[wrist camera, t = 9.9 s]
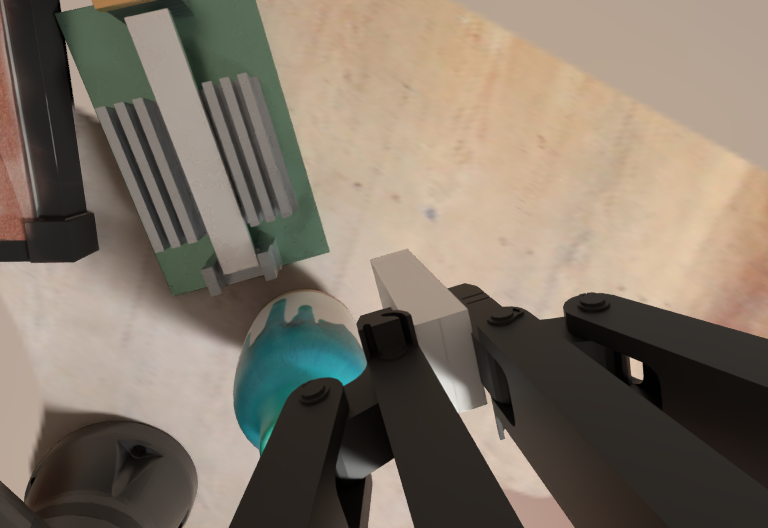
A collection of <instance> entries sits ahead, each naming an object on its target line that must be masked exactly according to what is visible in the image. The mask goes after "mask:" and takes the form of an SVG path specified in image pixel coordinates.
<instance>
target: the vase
mask: <svg viewBox="0 0 768 528" xmlns="http://www.w3.org/2000/svg"><path fill="white" fill-rule="evenodd" d="M356 324H357V323H356V320H355V319H354V317H353V315H352V314H351V313H350V311H349V310H348V309H347V307H346V306H345V305H344V304H343V303H342V302H340V301H339V300H338V299H336V298H335V297H333V296H331V295H329V294H327V293H325V292H322V291H318V290H312V289H300V290H293V291H290V292H287V293H284V294H282V295H280V296H278V297H276V298H275V299H273V300H272V301H270V302H269V303H268V304H267V305H266V306H265V307H264V308H263V309H262V310H261V312H260V313H259V314H258V315H257V317H256V319H255V320H254V322H253V324H252V326H251V327H250V329H249V331H248V334H247V336H246V338H245V341H244V344H243V347H242V350H241V353H240V356H239V360H238V364H237V368H236V374H235V380H234V390H233V396H234V410H235V415H236V419H237V421H238V424H239V426H240V428H241V430H242V431H243V433H244V434H245V436H246V437H247V439H248V440H249V441H250V442H251V443H252V444H253V445H254V446H255V447H256V448H257V449H259V451H260V457H261V455H262V452H263V450H264V448H265V446H266V444H267V441H268V439H269V437H270V435H271V432H272V430H273V428H274V426H275V424H276V421H277V419H278V417H279V415H280V412H281V410H282V408H283V406H284V404H285V401H286V399H287V398H288V396H289V395H290V394H291V392H293V391H294V390H295V389H296V388H298V387H299V386H300V385H302V384H303V383H307V381H310V380H315V379H318V378H326V377H331V378H336V379H338V380H339V381H340V382H342V384H343V386H344V385H346V384H348V383H350V382H351V381H353V380H354V379H356V378H357V377H358V376H359V375H361V374H362V372H363V371H364V370H365V368H366V365H367V361H366V358H365V354H364V351H363V347H362V344H361V340H360V337H359V334H358V329H357V325H356Z"/></svg>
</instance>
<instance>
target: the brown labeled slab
mask: <svg viewBox="0 0 768 528" xmlns="http://www.w3.org/2000/svg"><path fill="white" fill-rule="evenodd" d="M60 12H61V5H60V0H0V262H23V261H30V262H31V263H59V262H76V261H78V260H80V259H82V258H84V257H86V256H88V255H90V254H92V253H94V252H96V251H98V250H99V246H98V239H97V232H96V224H95V217H94V214H87V210H86V203H85V196H84V188H83V181H82V174H81V167H80V160H79V153H78V146H77V139H76V132H75V125H74V118H73V111H72V106H74V107H75V104H74V97H73V90H72V84H71V76H70V69H69V62H68V55H67V48H66V41H65V37H64V35H63V33H62V30H61V28H60V26H59V23H58V21H57V18H56V16H55V13H60Z"/></svg>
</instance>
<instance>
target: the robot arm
mask: <svg viewBox="0 0 768 528" xmlns="http://www.w3.org/2000/svg"><path fill="white" fill-rule="evenodd" d="M370 261H371V265H372V269H373V273H374V276H375V280H376V284H377V287H378V291H379V295H380V299H381V302H382V306H383V309H382V310H378V311H375V312H372V313H368V314H365V315H362V316H360V318H359V320H358V322H357V324H356V325H357V329H358V334H359V337H360V340H361V344H362V347H363V351H364V354H365V358H366V361H367V365H366V368H365V370H364V371H363V372H362V374H361V375H359V376H358V377H357V378H356V379H354V380H353V381H351V382H350V383H348V384H346V385H344V386H343V384H342V382H340V381H339V380H338V379H336V378H331V377H326V378H318V379H315V380H310V381H307V383H303V384H302V385H300V386H299V387H298V388H296V389H295V390H294V391H293V392H291V394H290V395H289V396H288V398H287V399H286V401H285V404H284V406H283V408H282V410H281V412H280V415H279V417H278V419H277V421H276V424H275V426H274V428H273V430H272V432H271V435H270V437H269V439H268V441H267V444H266V446H265V448H264V450H263V452H262V455H261V457H260V459H259V461H258V464H257V466H256V468H255V470H254V473H253V475H252V477H251V479H250V481H249V484H248V486H247V488H246V490H245V493H244V495H243V497H242V499H241V501H240V504H239V506H238V508H237V510H236V513H235V515H234V517H233V519H232V521H231V524H230V526H229V528H368V520H369V511H370V502H371V493H372V476H371V473H372V472H373V471H375V470H376V469H378V468H379V467H381V466H383V465H384V464H386V463H387V462H389V461H390V460H392V459H393V458H395V462H396V465H397V469H398V472H399V476H400V479H401V483H402V486H403V490H404V493H405V496H406V500H407V503H408V507H409V510H410V514H411V517H412V521H413V524H414V528H524V527H523V525H522V524H521V522H520V520H519V518H518V517H517V515H516V513H515V511H514V509H513V508H512V506H511V505H510V503H509V501H508V499H507V497H506V496H505V494H504V492H503V490H502V489H501V487H500V485H499V483H498V482H497V480H496V478H495V476H494V475H493V473H492V471H491V470H490V468H489V466H488V464H487V463H486V461H485V459H484V457H483V456H482V454H481V452H480V450H479V449H478V447H477V445H476V443H475V442H474V440H473V438H472V437H471V435H470V433H469V431H468V430H467V428H466V426H465V424H464V423H463V421H462V419H461V417H460V416H459V413H462V412H465V411H468V410H471V409H474V408H477V407H480V406H483V405H486V404H487V400H486V395H485V390H484V387H485V388H486V389H487V391H488V392H489V393H490V395H491V399H492V404H493V409H494V414H495V419H496V424H497V429H498V434H499V437H500V440H503V439H505V437H504V432H503V431H504V429H506V430H507V432H508V433H509V435H510V436H511V437H512V439H513V440H514V442H515V443H516V445H517V446H518V447H519V449H520V450H521V452H522V453H523V455H524V456H525V457H526V459H527V460H528V462H529V463H530V465H531V466H532V467H533V469H534V470H535V472H536V473H537V474H538V476H539V477H540V479H541V480H542V482H543V483H544V484H545V486H546V487H547V489H548V490H549V492H550V493H551V494H552V496H553V497H554V499H555V500H556V501H557V503H558V504H559V506H560V507H561V509H562V510H563V511H564V513H565V514H566V516H567V517H568V519H569V520H570V521H571V523H572V524H573V526H574V527H575V528H768V339H766V338H762V337H759V336H755V335H752V334H748V333H745V332H741V331H738V330H734V329H731V328H727V327H724V326H720V325H717V324H713V323H710V322H706V321H703V320H699V319H696V318H692V317H689V316H685V315H682V314H678V313H674V312H671V311H667V310H664V309H660V308H657V307H653V306H650V305H646V304H643V303H639V302H636V301H632V300H629V299H625V298H622V297H618V296H615V295H610V294H604V293H594V292H591V293H587V294H586V293H584V294H580V295H579V296H576V297H573V298H571V299H569V300H568V301H566V302H565V304H564V306H563V310H564V317H559V318H552V319H544V320H539V319H538V318H536V317H535V316H534V315H532V314H531V313H530V312H528V311H527V310H525V309H522V308H519V307H512V306H511V307H502V306H501V305H500V304H498V303H497V302H496V301H495V300H493V299H492V298H490V296H488V295H487V294H486V293H484V291H482V290H481V289H480V288H479V287H477V286H474V285H470V284H466V283H464V284H461V285H457V286H454V287H451V288H446V287H445V286H444V285H443V284H442V283H441V282H440V281H439V280H438V279H437V278H436V277H435V276H434V275H433V274H432V273H431V272H430V271H429V270H428V269H427V268H426V267H425V266H424V265H423V264H422V263H421V262H420V261H419V260H418V259H417V258H416V257H415V256H414V255H413V254H412V253H411V252H410V251H409V250H408V249H405V250H402V251H398V252H395V253H391V254H388V255H384V256H381V257H378V258H374V259H371V260H370ZM629 357H631V358H633V359H636V360H638V361H641V362H643V374H644V378H643V380H639V379H637V378H634V377H632V376H631V369H630V358H629ZM197 486H198V480H197V473H196V469H195V466H194V463H193V461H192V459H191V457H190V456H189V454H188V453H187V452H186V450H185V449H184V448H183V447H182V446H181V445H180V444H179V443H178V442H177V441H176V440H174V439H173V438H172V437H170V436H169V435H167V434H165V433H164V432H162V431H160V430H157V429H155V428H152V427H150V426H146V425H143V424H138V423H132V422H104V423H98V424H94V425H90V426H87V427H84V428H81V429H79V430H77V431H75V432H73V433H71V434H69V435H67V436H66V437H64V438H63V439H62V440H60V441H59V442H58V443H57V444H56V445H55V446H54V447H53V448H52V449H51V450H50V451H49V452H48V454H47V455H46V456H45V457H44V458H43V460H42V461H41V462H40V463H39V465H38V466H37V467H36V469H35V470H34V472H33V474H32V476H31V478H30V480H29V482H28V485H27V489H26V492H25V498H24V502H23V501H22V500H21V499H20V498H18V497H17V496H16V495H15V494H14V493H13V492H12V491H11V490H10V489H9V488H8V487H6V486H5V485H4V484H3V483H2V482H1V481H0V528H183V526H184V525H185V523H186V521H187V519H188V517H189V515H190V512H191V509H192V506H193V503H194V500H195V497H196V493H197Z"/></svg>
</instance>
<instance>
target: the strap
mask: <svg viewBox="0 0 768 528" xmlns="http://www.w3.org/2000/svg"><path fill="white" fill-rule="evenodd" d="M124 19H125V22H126V24H127V27H128V29H129V32H130V34H131V37H132V40H133V42H134V45H135V47H136V50H137V52H138V55H139V57H140V60H141V63H142V65H143V68H144V70H145V73H146V75H147V78H148V81H149V83H150V86H151V88H152V91H153V93H154V96H155V99H156V101H157V104H158V106H159V109H160V111H161V114H162V116H163V119H164V122H165V124H166V127H167V129H168V132H169V134H170V137H171V140H172V142H173V145H174V147H175V150H176V152H177V155H178V157H179V160H180V163H181V165H182V168H183V170H184V173H185V175H186V178H187V181H188V183H189V186H190V188H191V191H192V193H193V196H194V198H195V201H196V204H197V206H198V209H199V211H200V214H201V216H202V219H203V222H204V224H205V227H206V229H207V232H208V234H209V237H210V239H211V242H212V245H213V247H214V250H215V252H216V255H217V257H218V260H219V263H220V265H221V268H222V270H223V273H224V275H226V274H230V273H233V272H237V271H240V270H244V269H248V268H251V267H255V266H258V265H259V264H260V262H259V259H258V257H257V253H256V250H255V247H254V244H253V241H252V239H251V236H250V233H249V230H248V227H247V225H246V222H245V219H244V216H243V213H242V211H241V208H240V205H239V202H238V199H237V197H236V194H235V191H234V188H233V185H232V183H231V180H230V177H229V174H228V171H227V169H226V166H225V163H224V160H223V157H222V155H221V152H220V149H219V146H218V143H217V140H216V138H215V135H214V132H213V129H212V126H211V124H210V121H209V118H208V115H207V112H206V110H205V107H204V104H203V101H202V98H201V96H200V93H199V90H198V87H197V84H196V82H195V79H194V76H193V73H192V70H191V68H190V65H189V62H188V59H187V56H186V54H185V51H184V48H183V45H182V42H181V39H180V37H179V34H178V31H177V28H176V25H175V23H174V20H173V17H172V14H171V11H170V10H169V9H168V8H166V9H161V10H157V11H152V12H148V13H143V14H139V15H134V16H130V17H125V18H124Z"/></svg>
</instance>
